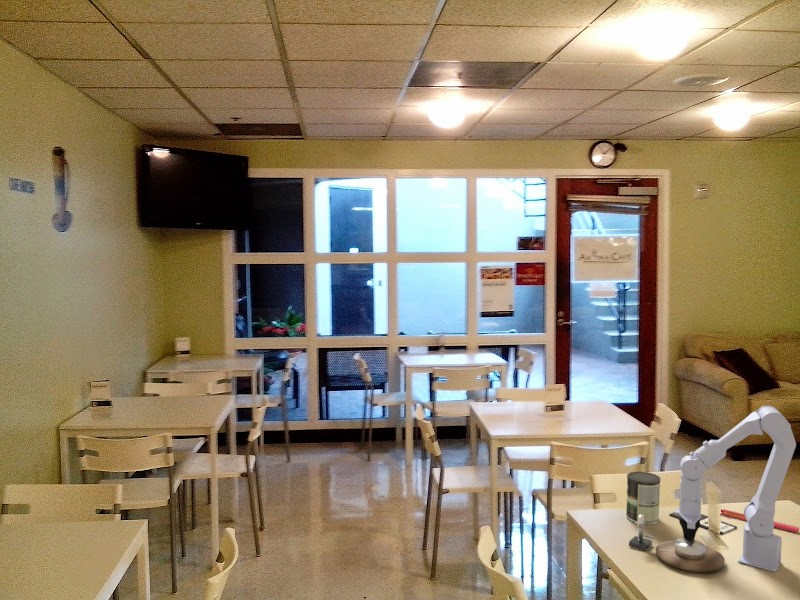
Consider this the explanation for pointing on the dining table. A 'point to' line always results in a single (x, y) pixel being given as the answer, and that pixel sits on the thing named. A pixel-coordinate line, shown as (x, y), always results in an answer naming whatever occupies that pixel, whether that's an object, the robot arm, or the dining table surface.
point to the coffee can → (643, 496)
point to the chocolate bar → (704, 523)
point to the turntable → (708, 564)
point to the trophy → (641, 536)
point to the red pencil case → (776, 524)
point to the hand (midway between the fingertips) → (688, 543)
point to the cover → (689, 549)
